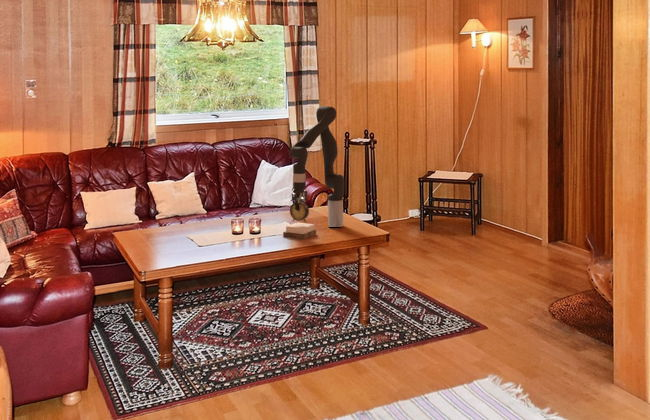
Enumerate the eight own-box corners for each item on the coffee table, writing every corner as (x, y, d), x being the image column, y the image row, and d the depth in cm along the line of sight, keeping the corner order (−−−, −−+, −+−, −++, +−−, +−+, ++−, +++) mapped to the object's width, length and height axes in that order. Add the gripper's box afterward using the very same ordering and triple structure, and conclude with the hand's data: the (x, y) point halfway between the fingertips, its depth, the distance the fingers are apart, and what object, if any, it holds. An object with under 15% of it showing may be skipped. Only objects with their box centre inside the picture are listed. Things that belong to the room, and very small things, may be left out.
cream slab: (296, 228, 429) (296, 222, 428) (314, 230, 423) (314, 224, 423) (286, 232, 419) (286, 226, 418) (303, 234, 413) (303, 228, 412)
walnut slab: (296, 233, 431) (296, 227, 430) (316, 235, 424) (316, 230, 423) (283, 237, 419) (283, 232, 419) (303, 240, 412) (303, 234, 411)
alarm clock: (289, 221, 420) (288, 194, 417) (294, 219, 425) (293, 193, 421) (305, 223, 415) (305, 196, 412) (310, 221, 420) (309, 194, 416)
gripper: (298, 183, 407) (298, 212, 411) (311, 179, 419) (311, 207, 423) (287, 182, 411) (287, 211, 414) (300, 178, 423) (301, 206, 426)
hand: (299, 209), depth 419 cm, fingers closed on alarm clock, 5 cm apart
